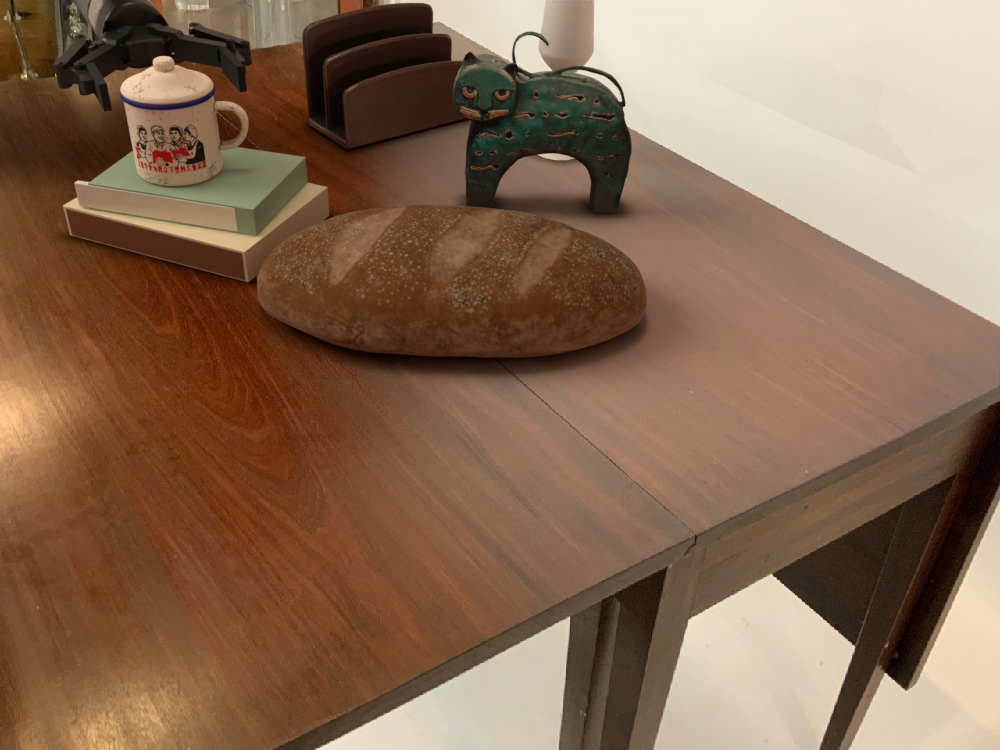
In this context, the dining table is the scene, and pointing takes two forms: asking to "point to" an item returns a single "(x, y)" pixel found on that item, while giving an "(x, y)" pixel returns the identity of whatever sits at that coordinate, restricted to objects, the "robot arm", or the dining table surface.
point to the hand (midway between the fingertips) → (175, 88)
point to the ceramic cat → (540, 124)
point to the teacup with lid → (176, 124)
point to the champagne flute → (567, 39)
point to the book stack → (202, 212)
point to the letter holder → (378, 74)
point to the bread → (451, 283)
